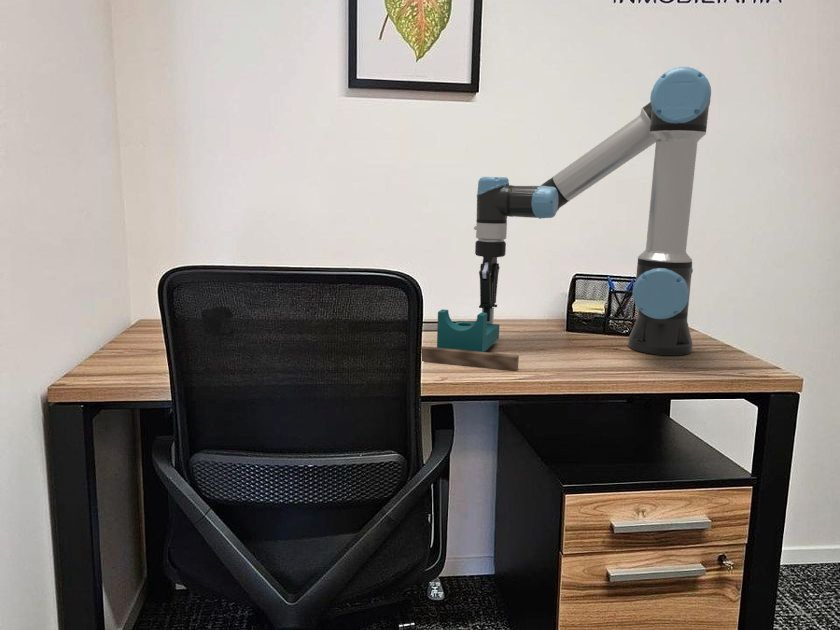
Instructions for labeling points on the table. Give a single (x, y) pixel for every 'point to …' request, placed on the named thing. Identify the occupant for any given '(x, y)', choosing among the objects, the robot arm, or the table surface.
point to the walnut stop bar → (470, 358)
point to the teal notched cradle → (466, 333)
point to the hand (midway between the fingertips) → (487, 332)
